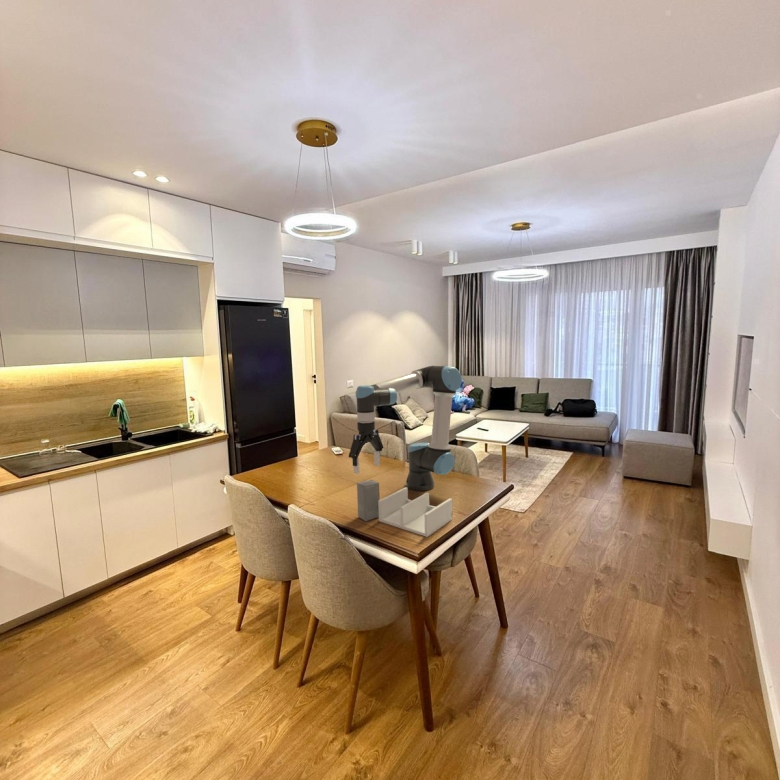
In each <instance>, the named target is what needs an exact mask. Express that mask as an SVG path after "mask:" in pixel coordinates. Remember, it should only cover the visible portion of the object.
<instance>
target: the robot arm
mask: <svg viewBox="0 0 780 780" xmlns="http://www.w3.org/2000/svg"><path fill="white" fill-rule="evenodd" d="M462 379H463V377H462V375H461V372H460V371H459V369H457V368H456V367H454V366H449V365H429V366H425V367H421V368H419V369H415V370H413V371H411V372H410V373H409V374H405V375H401V376H398V377H395V378H392V379H387V380H385V381H382V382H378V383H374V384H371V385H366V384H365V385H358V386H357V388H356V391H355V398H356V415H357V417H356V418H357V424H356V425H357V426H356V427H357V431H358V432H359V433H358V434H353V436H352V437H353V438H352V443H351V447H350V450H349V453H348V458H349V459H350V458H351V460H352V466H353V473H354V474H360V458H359V455H360V453H361V452H362V449H363V447H364V446H365V445H366V444H367V443H370V444H371V446H372V447H373V449H374V450H373V465H374V466H378V467H380V465H381V452H382V451H383V449H384V444H383V441H382V439H381V437H380V432H379V429H375V428H376V425H375V419H376V418H375V416H376V415H375V408H376V407H382V406H391V405H394V404H396V402H397V401H398V394H399V393H400V394H401V393H403V392H406V391H410V390H412V389H422V388H423V389H424V388H430V389H432V393H433V394H434V405H433V417H432V429H431V440H430V443H429V442H417V443H416V442H415V443H412V444H410V445H409V446H408V452H407V453H408V475H407V477H406V480H405V487H407V488H408V490H412V491H421V492H422V491H423V492H424V491H429V490H431V489H433V488H434V487H435V480H434V477H433V473H434V474H435V475H441V476H445V475H448V474H450V472H451V471H452V470H453V468H454V466H455V462H456V459H455V456H454V454H453V453H451V452H452V451H451V450H452V447H451V446H450V445H449V442H450V441H449V439H450V427H451V415H452V404H453V397H454V396H455V395H457V394H456V393H457V391H458V390H459V389H460V387H461V386H462V382H463V380H462Z"/></svg>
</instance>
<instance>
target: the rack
mask: <svg viewBox="0 0 780 780" xmlns="http://www.w3.org/2000/svg"><path fill="white" fill-rule="evenodd" d="M408 495H409V488H407V487H406V486H405V487H403V488H401V489H399V490H397V491H395V492H393V493H390V494H388V495H387V496H385V497H382V498H380V500H379V501H378V507H379V517H378V522H380V523H384V524H387V525H390V526H393V527H395V528H399V529H402V530H405V531H408V532H411V533H414V534H417V535H420V536H424V537H426V538H428V537H430V536H431V535H432V534H434V533H435V532H437V531H438V530H439V529H441V528H442V527H444V526H445V525H446V524H447V523H449V522H451V521H452V520H453V498H451V497H450V498H447V500H444V501H443V502H441V503H440V504H438V505H436V506H435V505H430V492H425V493H423V494H422V495H420V496H418V497H416V498H414V499H409V496H408Z"/></svg>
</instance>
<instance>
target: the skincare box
mask: <svg viewBox="0 0 780 780" xmlns="http://www.w3.org/2000/svg"><path fill="white" fill-rule="evenodd" d="M356 491H357V498H356V499H357V517H358V518H360V519H362V521H364V522H368V521H371V520H374V519H377V518H379V507H378V501H379V500H381V498H380V497H381V496H380V482H379V481H376V480H373V479H369V480H363V481H361V482H357V483H356Z"/></svg>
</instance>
